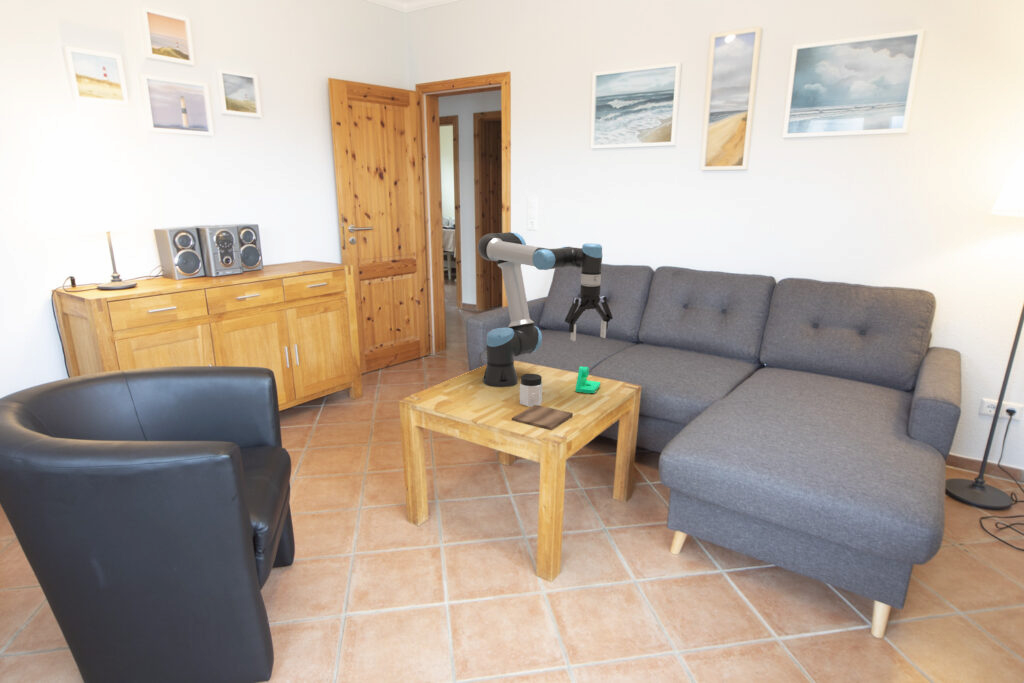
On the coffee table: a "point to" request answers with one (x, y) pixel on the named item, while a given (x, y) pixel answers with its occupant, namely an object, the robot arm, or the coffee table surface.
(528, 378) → the jar
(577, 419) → the coffee table surface
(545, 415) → the plinth
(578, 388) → the camera mount
